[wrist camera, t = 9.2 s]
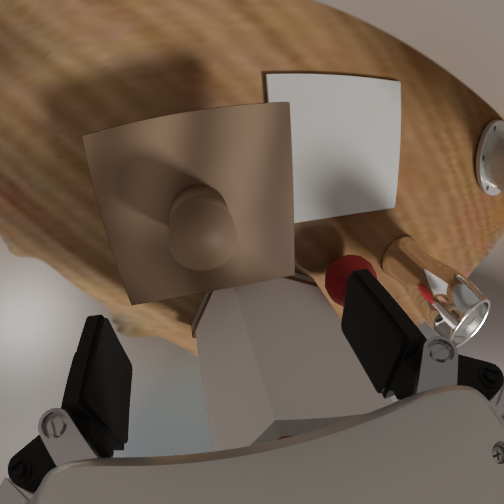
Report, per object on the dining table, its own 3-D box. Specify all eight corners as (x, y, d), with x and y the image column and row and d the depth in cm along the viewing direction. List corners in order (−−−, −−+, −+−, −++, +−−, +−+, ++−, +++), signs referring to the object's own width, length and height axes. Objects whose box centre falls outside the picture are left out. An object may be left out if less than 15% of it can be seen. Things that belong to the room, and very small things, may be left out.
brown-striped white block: (191, 325, 35) (257, 634, 5) (223, 251, 31) (363, 648, 1) (272, 340, 39) (374, 587, 9) (312, 277, 35) (477, 554, 5)
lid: (284, 101, 19) (317, 104, 14) (290, 268, 26) (314, 307, 21) (86, 134, 17) (56, 147, 12) (132, 298, 24) (126, 343, 19)
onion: (337, 289, 37) (367, 330, 30) (305, 274, 35) (334, 318, 28) (365, 253, 35) (401, 290, 28) (334, 234, 33) (371, 272, 26)
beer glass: (372, 254, 36) (447, 332, 23) (411, 222, 35) (492, 286, 22) (386, 285, 39) (449, 358, 26) (421, 256, 38) (490, 319, 26)
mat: (398, 81, 25) (400, 81, 25) (392, 206, 33) (394, 207, 32) (265, 74, 23) (266, 74, 22) (275, 224, 30) (276, 226, 30)
